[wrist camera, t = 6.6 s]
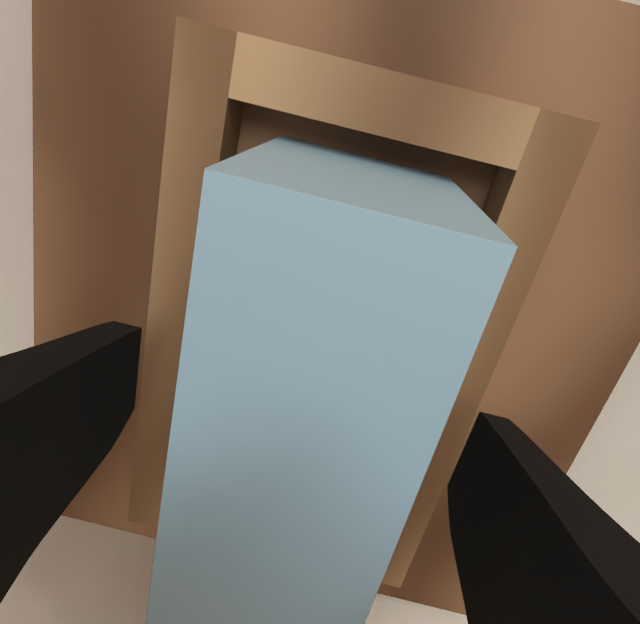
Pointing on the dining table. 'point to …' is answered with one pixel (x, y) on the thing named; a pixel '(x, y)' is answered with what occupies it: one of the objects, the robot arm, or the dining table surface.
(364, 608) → the tall light blue prism
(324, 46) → the cradle
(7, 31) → the dining table surface
